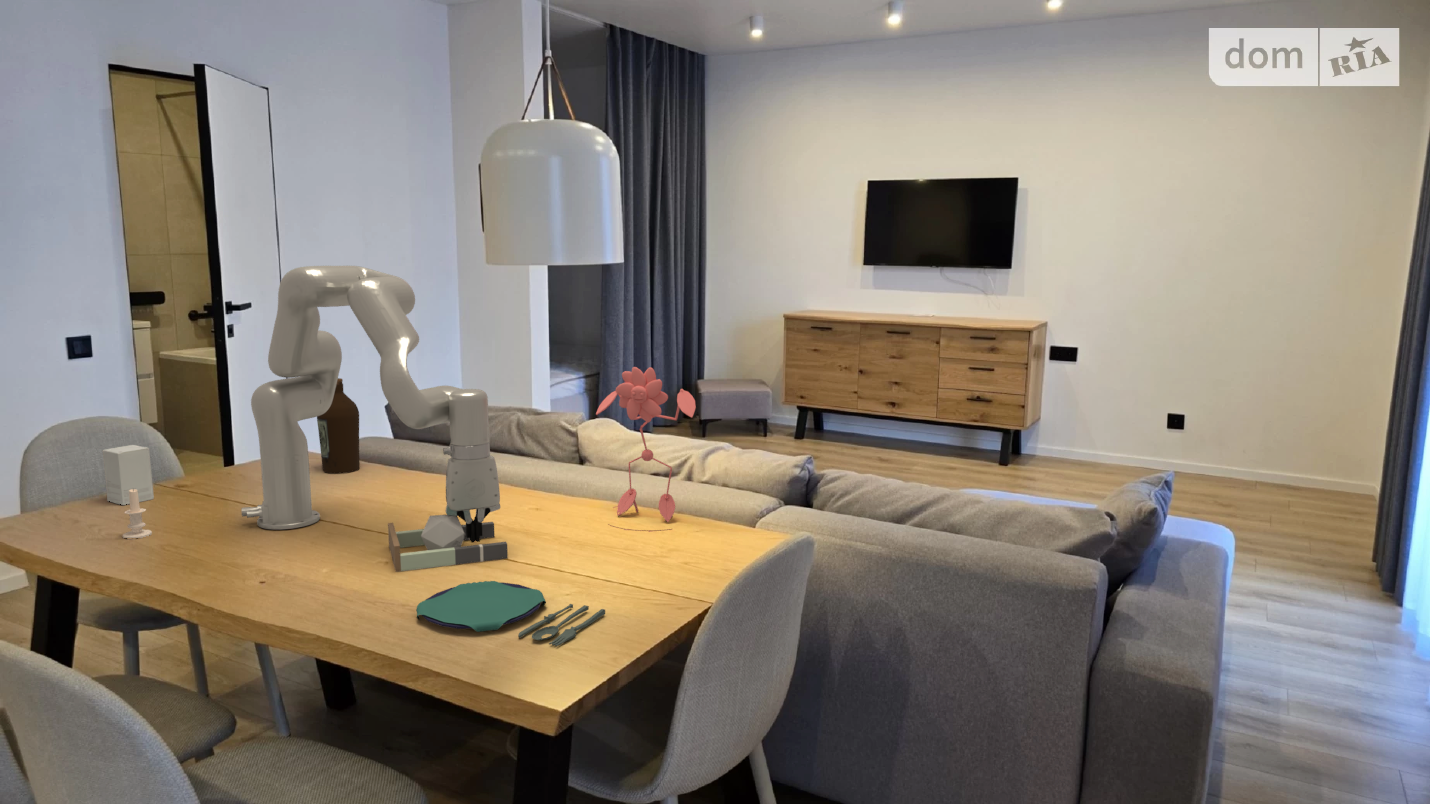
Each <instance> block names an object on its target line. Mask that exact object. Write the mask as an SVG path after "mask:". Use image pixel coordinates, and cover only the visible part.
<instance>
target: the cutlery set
mask: <svg viewBox="0 0 1430 804" xmlns="http://www.w3.org/2000/svg"><path fill="white" fill-rule="evenodd" d="M544 596H545V595H544V594H543V592H542V591H541V590H540V589H536V588H532V587H527V586H525V585H522V584H517V583H512V582H511V583H510V582H509V583H508V582H500V581H495V580H489V581H488V580H485V581H477V582H475V581H474V582H467V583H460V584H458V585H456V586H454V587H450V588H446V589H444V590H442V591H439V592H436V593H434V594H433V595H431V596H430V597H428V598H426V599H425V600H422V601H420V602H419V603H418V605H417V606H416V609H415V610H416V619H417V620H418V621H419V620H420V616H421V617H422V618H424V619H425V620H426V621H427V622H429V623H432V624H434V625H437V626H440V627H442V628H443V627H445V628H451V629H457V630H458V629H459V630H463V629H464V630H465V629H467V630H474V631H475V632H478V633H479V632H480V633H481V632H488V631H497V630H499V629H500V628H501V627H502V626H505V625H508V624H509V625H510V624H513V623H515V622H518V621H520V620H524V619H525V618H527V617H530V616H531V615H532V614H533V613H535V612H536V611H537V610H540V609H539V608H540V607H541V606H543V607H544V606H545V605H546V603H547V601H546V599H545V597H544ZM589 607H590V606H589V605H582V606H581V607H580V608H578V609H577V610H575V611H574V612H572V613H571V614H569V615H567V617H566V618H564V619H563V620H562V621H561V622H559V623H558V624H557V625H549V626H544V627H541V626H542V625H544V624H551V621H552V620H555V618H556V617H557V616H558V615H559V614H561V613H563V612H564V611H566V610H569V609H574V604H572V603H569V605H567V606H565V607H564V608H562V609H560V610H558V611H556V612H555V613H548V615H547V616H545V615H544V616H543V619H542V620H539V621H537V622H535V623H533V624H531V625H530V626H528V627H526V628H524V629H523V630H521V631H519V633H518V638H519V639H520V638H522V637H523V636H525V635H527V634H529V633H530V632H533V631H534V630H535V629H536V631H534V633H532V634H531V639H532V640H536V641H544V640H545V641H546V640H549V639H552V638H553V637H555V636H556V635H557V634H558V633H559V628H561V627H562V626H564V625H565V624H567V623H568V622H569V621H571V620H572V619H574V618H576V617H577V616H579V615H581V614H582V613H584V612H587V611H588V610H589ZM605 615H606V609H604V608H601V609H600V610H598V611H597V612H595V613H594V614H593V615H591V616H590V617H589V618H588V619H586V620H585V621H583V622H582V623H580V624H578V625H576V626H571V627H570V628H565V629H564V631H563V632H562V633H560V635H558V636H557V637H556V638H555V639H554V640H552V641H550V642H549V643H548V645H552V646H555V647H558V646H560V645H562V644H564V643H565V642H567V641H570V640H572V639H573V638H575V637H576V634H577V631H579V630H581V629H584V628H586V627H588V626H590V625H591V624H592V623H593V622H595V621H597V620H598V619H600V617H602V616H605ZM539 627H541V628H539ZM537 628H539V629H537ZM544 635H549V636H547V637H543V636H544ZM542 637H543V638H542Z"/></svg>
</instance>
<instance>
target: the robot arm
mask: <svg viewBox="0 0 1430 804" xmlns="http://www.w3.org/2000/svg"><path fill="white" fill-rule="evenodd" d="M277 296H278V297H277V311H276V317H275V321H274V326H273V328H272V329H273V331H272V334H271V335H272V336H271V340H270V344H269V349H268V354H267V355H268V356H267V357H268V359H267V362H268V363H267V364H268V368H269V369H270V371H271V373H273V374H274V375H275V376H278V377H280V378H283V379H276V380H270V381H268V382H266V383H263V384H260V386H258V387H256V389H255V390H254V391H253V393H252V395H251V399H250V406H251V412H252V414H253V419H254V421H255V425H256V430H257V435H258V442H259V454H260V467H261V469H260V470H261V482H262V496H263V497H262V498H263V501H262V503H261V504H258V505H257V506H253V507H251V506H247V507H246V506H245V507H241V511H240V512H241V517H246V518H249V519H251V518H256V517H258V518H257V520H256V522H257V523H256V524H257V526H258V527H259V528H261V529H265V530H275V531H276V530H279V531H280V530H290V529H293V530H294V529H298V528H303V527H307V526H310V525H313V524H315V523H317V522H319V520H320V519H321V515H320V512H319V511H317V510H313V507H312V491H311V488H312V487H311V476H310V475H311V474H310V473H311V472H310V459H309V457H310V456H309V446H308V440H307V436H306V435H305V432H304V431H303V430H302V428H301V426H300V425H299V422H300V421H303V420H304V421H305V420H308V419H313V418H317V416H320V415H322V414H324V413H325V412H326V411H327V410H328V409H329V408H330V406H331V403H332V401H333V397H334V393H335V388H336V384H337V380H338V378H339V376H340V370H341V365H342V362H343V361H342V360H343V359H342V358H343V357H342V356H343V355H342V349H341V345H340V342H339V340H338V339H337V338H336V336H335V335H333V334H332V333H330V332H329V331H326V330H319V329H320V325H321V315H320V311H319V309H318V308H331V307H347V306H348V307H349V308H350V309H351V311H352V312H353V314H354V316H355V317H356V319H357V321H358V322H359V323H360V325H361V327H362V328H363V330H364V332H365V333H366V335H367V336H368V338H369V340H370V341H371V343H372V345H373V346H374V349H376V351H377V353H378V355H379V357H380V364H379V378H380V387H381V389H382V392H383V396H384V397H385V399H386V401H387V402H388V404H389V406H390V407H391V409H392V410H393V412H394V413H395V415H396V416H397V418H399V420H400V421H401V422H402V423H403V424H404V425H405V426H406V427H408V428H411V429H413V430H423V429H426V428H429V427H430V428H431V427H435V426H439V425H443V424H447V423H449V437H450V438H449V439H450V443H449V445H448V446H447V447H443V449H442V450H443V451H442V453H443V456H444V455H445V456H449V457H450V458H448V459H447V463H446V465H447V466H446V470H445V471H446V473H445V501H446V506H445V515H452V516H457V517H458V518H460V519H461V520H462V521H464V522H465V525H466V536H467V538H469V539H470V540H469V541H470V543H471V544H472V543H476V542H477V543H479V542H481V539H480V536H482V523H484V520H485V518H486V517H487V516H488V515H489V514H490V513H492V512H496V511H499V510H500V509H501V502H500V501H501V494H500V484H499V483H500V482H499V473H498V467H497V463H496V459H495V456H494V455H491V450H490V449H491V447H490V446H491V445H490V443H491V442H490V421H489V419H490V418H489V400H488V399H489V397H488V395H487V393H486V391H484V390H482V389H479V388H478V389H477V388H464V389H463V388H459V387H455V386H453V385H438V386H433V387H427V388H422V389H420V388H418V386H417V384H416V383H415V381H414V380H413V378H412V376H411V374H410V372H409V369H408V362H407V361H408V357H409V354H410V353H411V352H413V351H414V349H416V348H417V346H418V345H419V342H420V336H419V334H418V332H417V331H416V329H415V328H414V326H413V324H412V323H411V321H410V320H409V318H408V317H407V315H409V314H410V313H411V312H412V311H413V309H414V307H415V304H416V296H415V292H414V290H413V287H412V286H411V285H410V283H408V282H407V281H406V280H405V279H403V278H401V277H399V276H396V275H393V274H389V273H385V272H383V271H379V270H374V269H370V268H367V267H364V266H358V265H308V266H307V265H306V266H300V267H295V268H292V269H291V270H289V271H288V272H286V273H285V274H284V275H283V277H282V278H281V280H280V282H279V287H278V293H277ZM471 510H475V515H474V518H472V513H471Z"/></svg>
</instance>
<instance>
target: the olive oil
mask: <svg viewBox="0 0 1430 804" xmlns="http://www.w3.org/2000/svg"><path fill="white" fill-rule="evenodd" d="M316 421H317V428H318V430H317V431H318V437H319V438H318V439H319V445H320V447H319V448H320V455H321V467H322V468H321V469H322V472H324V473H326V474H347V473H352V472H355V471H356V472H357V471H358V470H359V469H360V467H361V466H360V465H361V464H360V462H361V460H360V412H359V408H358V406H357V404H356V403H355V402H354V401H353V400H352V399H351V398H350V397H349V396H348V395H347V394H346V393H345V392H344V383H343V378H340V377H338V380H337V384H336V388H335V393H334V397H333V401H332V403H331V406H330V408H329V409H328V410H327V411H326V412H325V413H324V414H322V415H320V416H317V417H316Z"/></svg>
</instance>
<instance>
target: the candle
mask: <svg viewBox="0 0 1430 804" xmlns="http://www.w3.org/2000/svg"><path fill="white" fill-rule="evenodd" d="M129 499H130V504H129V509H127V510H125V511H124V514H125V515H128V516H129V522H130V523H128V525H127V529H131V530H130V531H127V532H125V533H122V538H123V539H124V538H140V539H144V538H143V537H145V538H147V537H146V536H148V537H150V536H151V535H153V532H152V530H151V529H143V528H144V527H145V526H146V522H144V521H143V516H142V513H144V512H146V511H147V509H146V508H143V507H142V508H141V507H140V502H139V498H138V491H137V489H131V490H129ZM149 535H150V536H149Z"/></svg>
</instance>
